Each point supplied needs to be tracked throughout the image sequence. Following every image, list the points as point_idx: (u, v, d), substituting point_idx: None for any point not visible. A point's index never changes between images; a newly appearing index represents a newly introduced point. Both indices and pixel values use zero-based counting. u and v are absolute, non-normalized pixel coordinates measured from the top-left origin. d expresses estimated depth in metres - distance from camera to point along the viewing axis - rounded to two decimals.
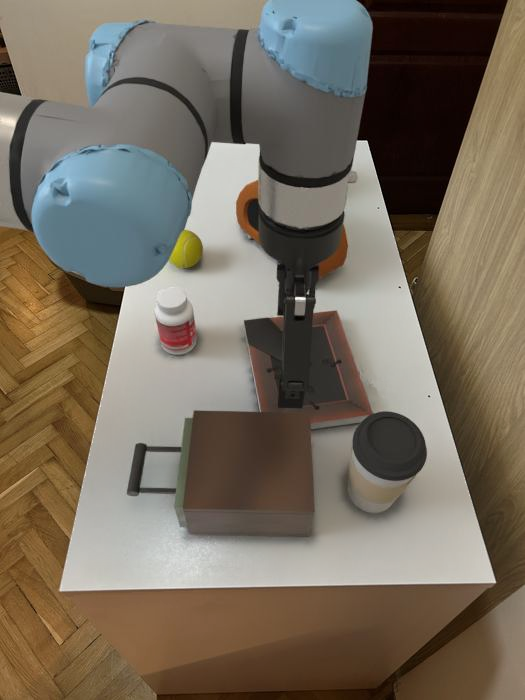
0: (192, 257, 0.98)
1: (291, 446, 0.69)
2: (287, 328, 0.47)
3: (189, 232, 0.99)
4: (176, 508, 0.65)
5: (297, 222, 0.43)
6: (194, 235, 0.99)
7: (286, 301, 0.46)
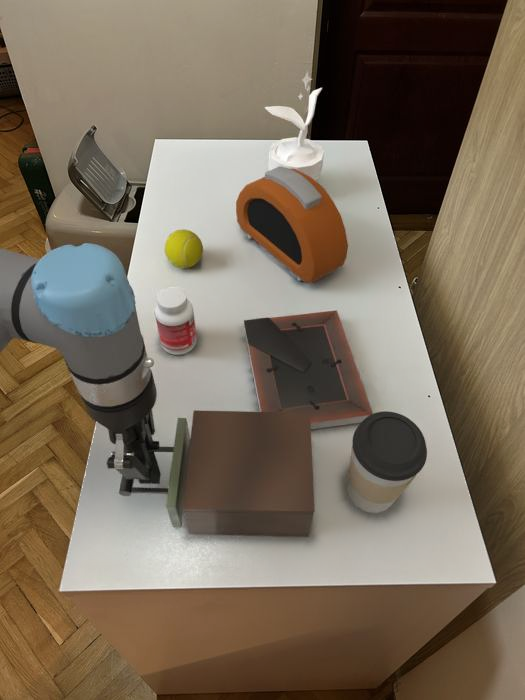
0: (192, 257, 0.98)
1: (291, 446, 0.69)
2: None
3: (189, 232, 0.99)
4: (168, 508, 0.65)
5: (100, 403, 0.51)
6: (194, 235, 0.99)
7: None
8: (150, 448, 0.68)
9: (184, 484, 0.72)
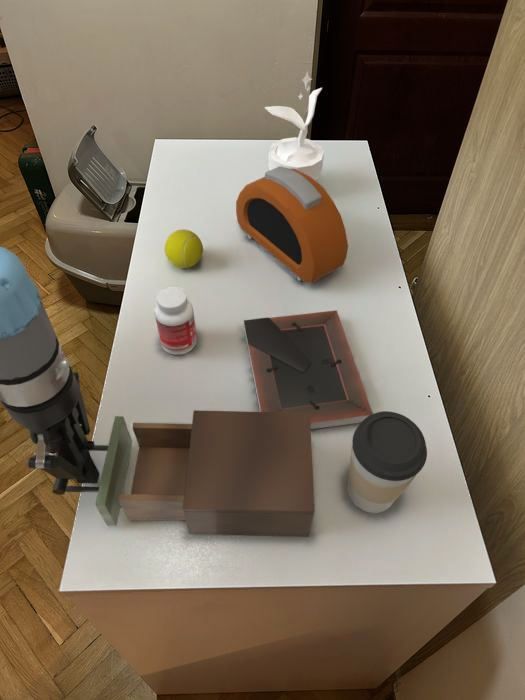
0: (192, 257, 0.98)
1: (291, 446, 0.69)
2: None
3: (189, 232, 0.99)
4: (98, 506, 0.65)
5: (14, 403, 0.52)
6: (194, 235, 0.99)
7: None
8: (84, 448, 0.68)
9: (121, 483, 0.72)
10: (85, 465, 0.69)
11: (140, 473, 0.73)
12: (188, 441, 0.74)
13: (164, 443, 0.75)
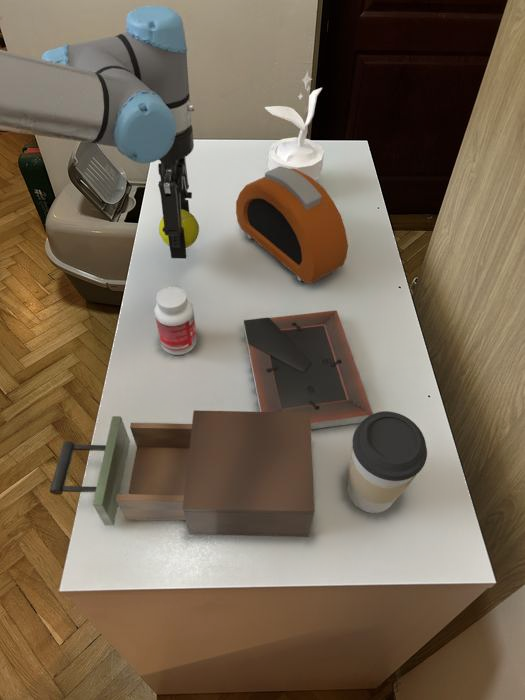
0: (187, 237, 0.94)
1: (291, 446, 0.69)
2: (162, 200, 0.84)
3: (185, 211, 0.95)
4: (95, 506, 0.65)
5: None
6: (190, 215, 0.95)
7: (159, 185, 0.82)
8: (186, 197, 0.96)
9: (118, 483, 0.72)
10: (181, 234, 0.92)
11: (138, 473, 0.73)
12: (186, 441, 0.74)
13: (162, 443, 0.75)
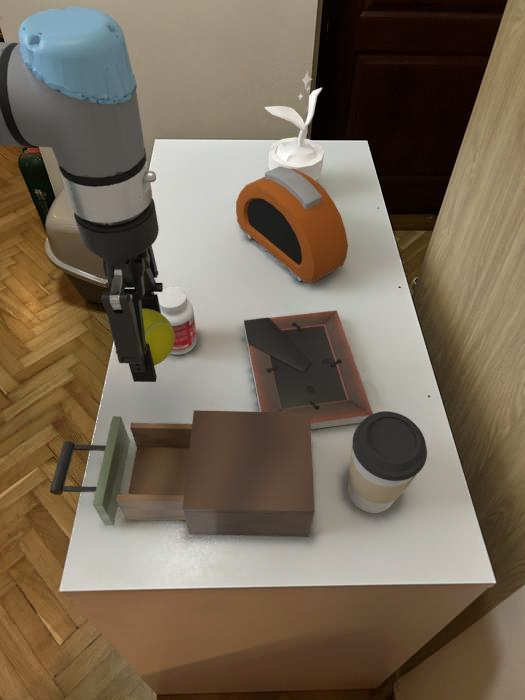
0: (157, 354, 0.63)
1: (291, 446, 0.69)
2: (110, 318, 0.53)
3: (152, 314, 0.63)
4: (95, 506, 0.65)
5: (97, 218, 0.47)
6: (160, 319, 0.63)
7: None
8: (153, 290, 0.65)
9: (118, 483, 0.72)
10: (146, 354, 0.61)
11: (138, 473, 0.73)
12: (186, 441, 0.74)
13: (162, 443, 0.75)
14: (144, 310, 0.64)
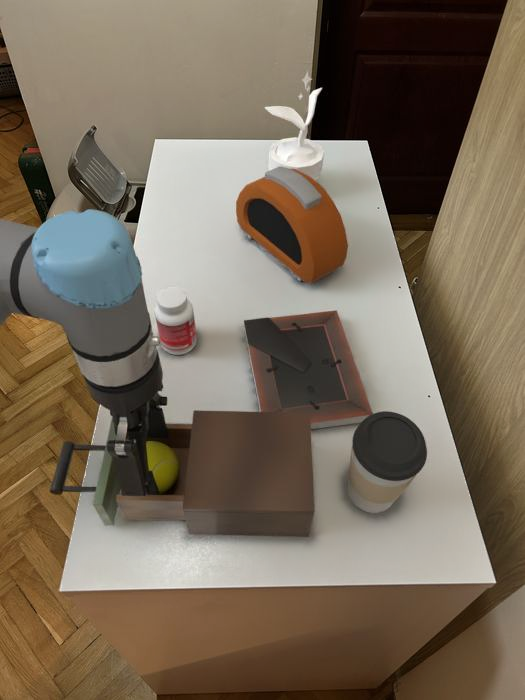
0: (163, 489, 0.68)
1: (291, 446, 0.69)
2: (115, 461, 0.55)
3: (158, 452, 0.68)
4: (95, 506, 0.65)
5: (103, 383, 0.49)
6: (165, 455, 0.68)
7: None
8: (158, 405, 0.67)
9: (118, 483, 0.72)
10: (149, 480, 0.62)
11: None
12: (186, 441, 0.74)
13: None
14: (150, 446, 0.68)
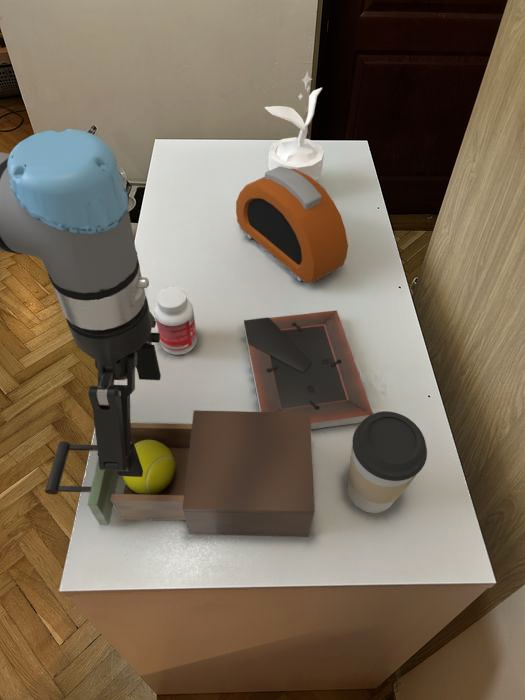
0: (159, 486, 0.68)
1: (291, 446, 0.69)
2: (95, 416, 0.50)
3: (155, 449, 0.68)
4: (90, 506, 0.65)
5: (87, 326, 0.46)
6: (162, 453, 0.68)
7: (89, 393, 0.49)
8: None
9: (114, 483, 0.72)
10: (131, 454, 0.57)
11: None
12: (181, 441, 0.74)
13: None
14: (147, 444, 0.69)
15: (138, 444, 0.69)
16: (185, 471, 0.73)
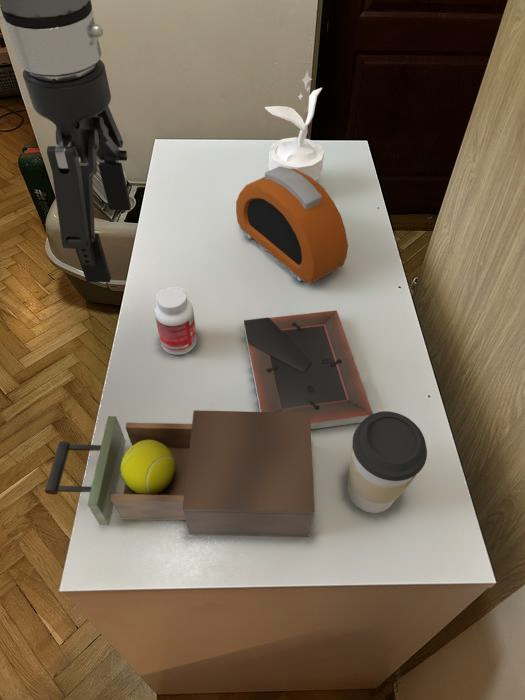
0: (159, 486, 0.68)
1: (291, 446, 0.69)
2: (55, 181, 0.51)
3: (155, 449, 0.68)
4: (90, 506, 0.65)
5: (42, 69, 0.46)
6: (162, 453, 0.68)
7: None
8: (118, 159, 0.65)
9: (113, 483, 0.72)
10: (96, 245, 0.57)
11: None
12: (181, 441, 0.74)
13: None
14: (147, 444, 0.69)
15: (138, 444, 0.69)
16: (185, 471, 0.73)
